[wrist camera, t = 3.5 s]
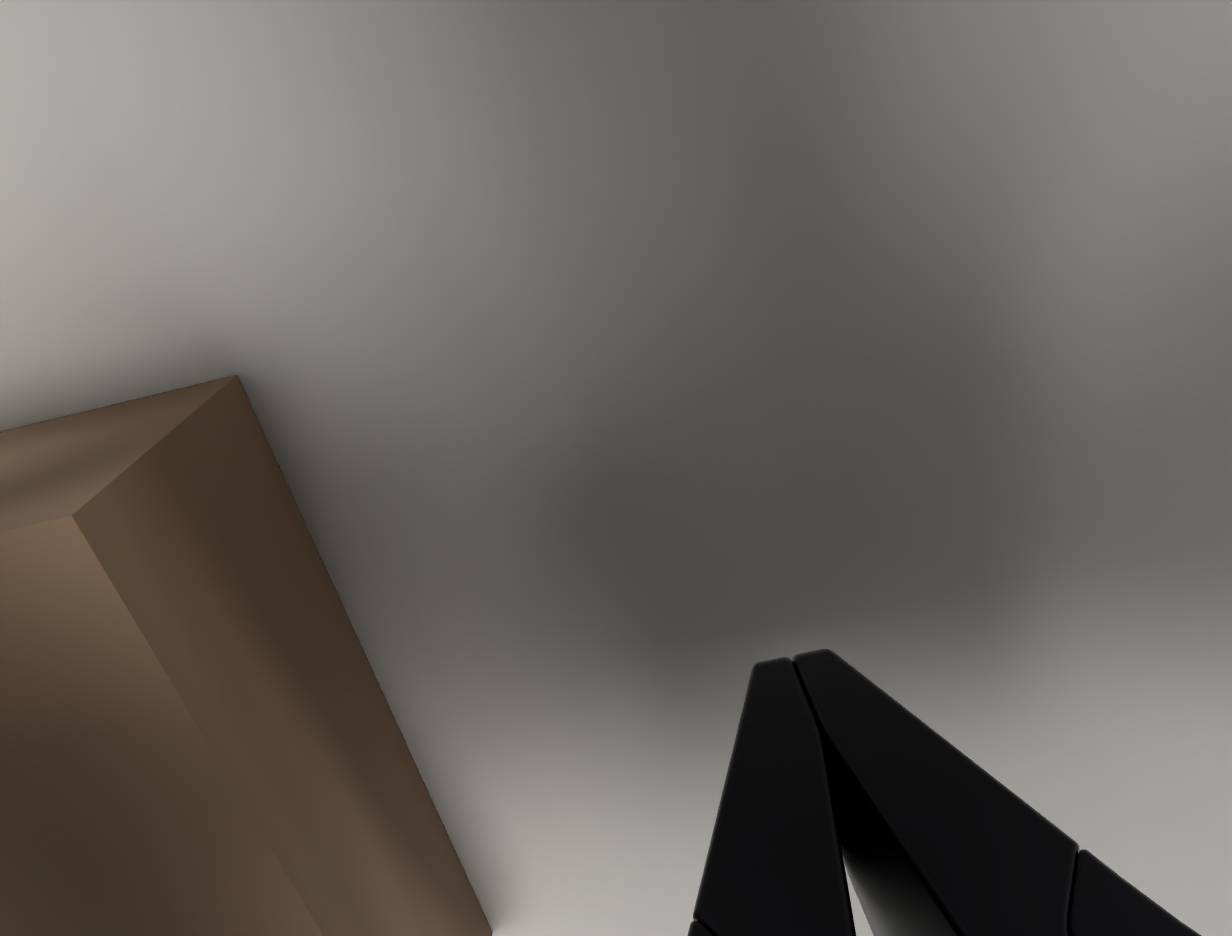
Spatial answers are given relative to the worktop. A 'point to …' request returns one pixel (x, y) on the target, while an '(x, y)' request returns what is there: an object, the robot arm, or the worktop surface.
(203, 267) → the worktop surface
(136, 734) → the t block
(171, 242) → the worktop surface
